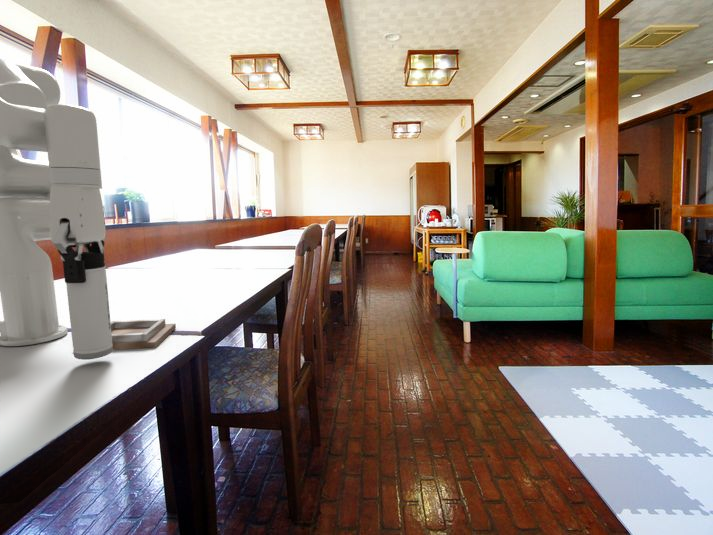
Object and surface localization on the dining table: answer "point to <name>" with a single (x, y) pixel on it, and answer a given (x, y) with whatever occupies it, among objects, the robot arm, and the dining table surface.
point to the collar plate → (139, 333)
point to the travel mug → (90, 310)
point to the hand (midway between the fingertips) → (86, 278)
